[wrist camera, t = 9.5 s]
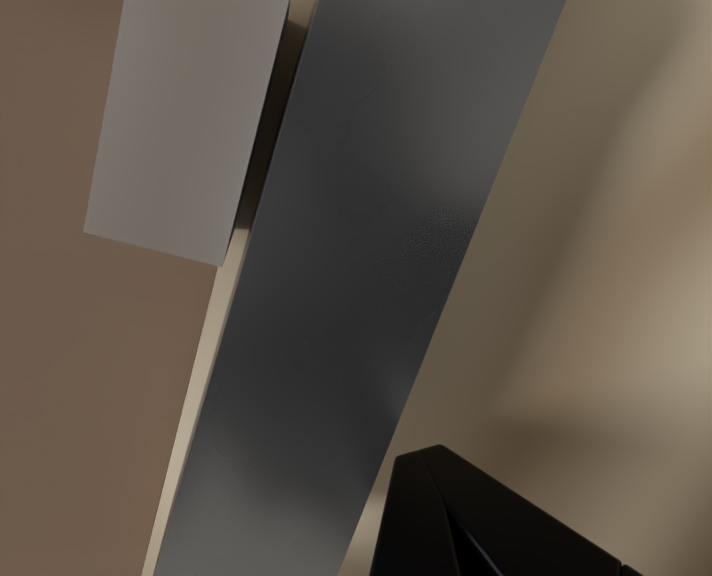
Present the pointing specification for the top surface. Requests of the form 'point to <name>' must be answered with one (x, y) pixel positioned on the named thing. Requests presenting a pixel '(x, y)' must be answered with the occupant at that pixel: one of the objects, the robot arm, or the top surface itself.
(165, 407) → the top surface
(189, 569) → the folding leg
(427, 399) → the stool seat
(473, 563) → the robot arm
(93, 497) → the top surface
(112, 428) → the top surface
